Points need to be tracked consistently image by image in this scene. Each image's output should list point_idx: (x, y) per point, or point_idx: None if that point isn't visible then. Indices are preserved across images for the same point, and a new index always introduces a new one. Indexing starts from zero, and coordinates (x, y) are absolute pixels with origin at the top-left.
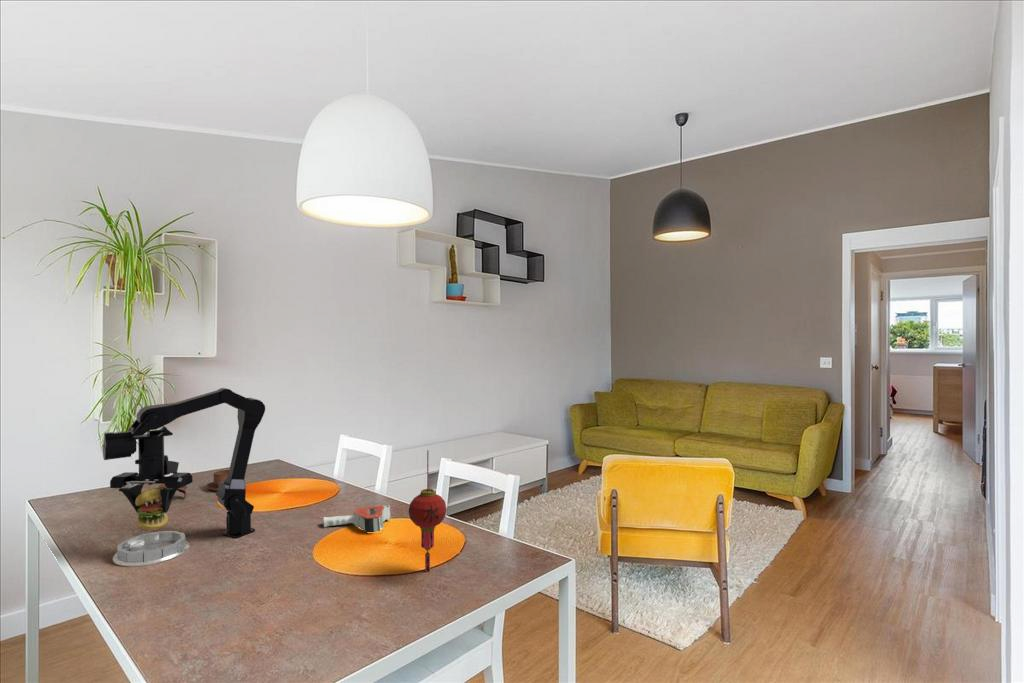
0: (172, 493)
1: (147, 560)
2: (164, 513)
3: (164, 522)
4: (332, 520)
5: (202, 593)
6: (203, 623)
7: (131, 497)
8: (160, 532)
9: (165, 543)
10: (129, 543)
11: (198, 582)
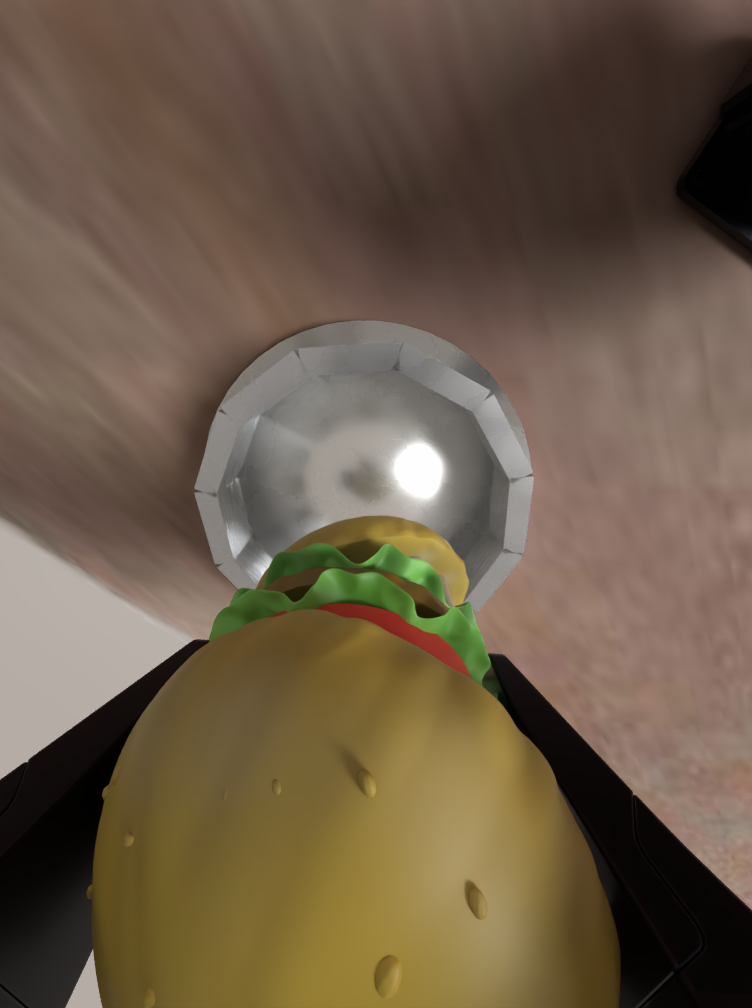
0: (734, 971)
1: None
2: (408, 541)
3: (459, 603)
4: None
5: (692, 766)
6: (719, 852)
7: (72, 987)
8: (315, 374)
9: (375, 405)
10: (227, 495)
11: (665, 718)
